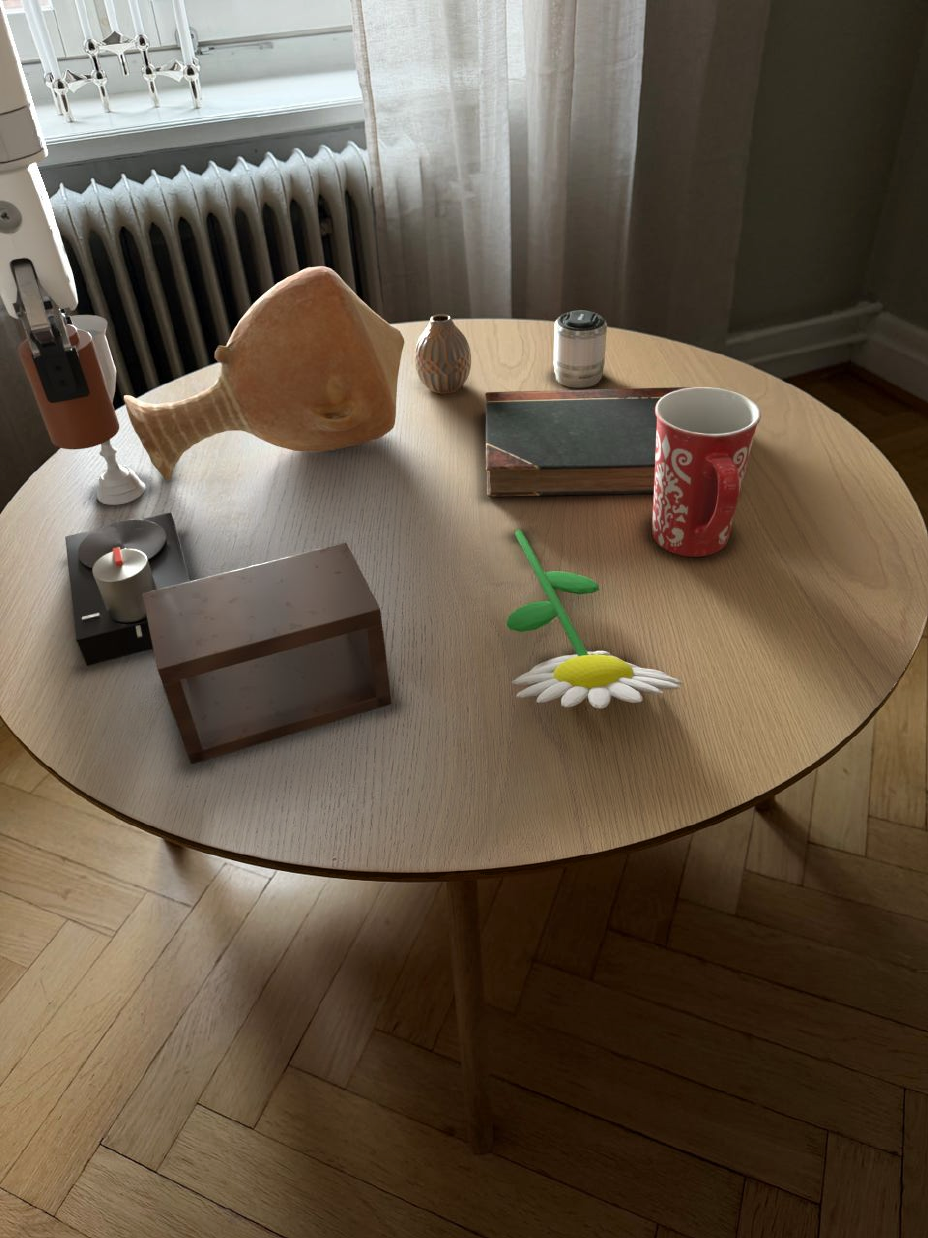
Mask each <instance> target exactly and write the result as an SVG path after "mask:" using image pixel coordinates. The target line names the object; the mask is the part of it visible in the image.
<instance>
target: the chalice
mask: <svg viewBox="0 0 928 1238" xmlns="http://www.w3.org/2000/svg"><path fill="white" fill-rule="evenodd" d="M70 317H71V320H72V323H73V326H74V327H76V329H80V330H84V331H86V332H88V333H89V334H90V335H91V337H92V339H93V343H94V346H95V349H96V352H97V355H98V359H99V362H100V365H101V368H102V371H103V375H104V378H105V381H106V384H107V387H108V391H109V394H110V397H111V400H112V403H114V399H115V392H116V382H117V369H116V365H115V362H114V360H113V355H112V352H111V348H110V346H109V342H108V339H107V335H106V333H107V328H108V323H109V322H108V321H107V320H106V318H104V317H102V316H99V315H93V314H76V315H70ZM117 452H118V448H116V447H114V446H113V445H112V443H111V439H110V440H108V441H106V442H104V443H102V444H100V451H99V453H98V454H99V456H100V457H103V458H104V460H105V462H106V466H107V467H106V469H105V470H104V471H102V472H101V474H100V476H99V478H98V485H97V492H96V499H97V500H98V501H99V502H100V503H102V504H105V505H109V506H110V505H112V506H114V505H116V506H118V505H124V504H127V503H131V502H133V501H135V500H136V499H138V498H140V497H141V496H143V494H144V493H145V491H146V485H145V483H144V482H143V481H142V479H140V477H139V476H138V475H137V474H135V472H134V470H132V469H130V468H128V467H127V466H124V465H120V464H119V463H118V461H117V459H116V457H117V456H116V455H117Z"/></svg>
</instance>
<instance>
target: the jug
mask: <svg viewBox="0 0 928 1238" xmlns="http://www.w3.org/2000/svg"><path fill="white" fill-rule="evenodd" d="M405 343H406V342H405V338H404V336H403V334H402V332H401V330H399V329H398V328H396V326H395V327H394V325H391V324H390V323H389V322H388V321H386V320H385V319H384V318H382V317H381V316H380V315H379V314H377V313H376V312H375V311H374V310H373V309H372V308H371V307H370V306H369V305H368V304H367V303H365V301H363V300H362V299H361V298H360V297H359V296H358V295H357V294H356V292H355V291H353V289H352V288H351V287H350V286H349V285H348V284H347V283H346V282H345V281H344V280H343V279H342V277H341V276H340V275H339V274H338V273H337V272H336V271H335V270H333V268H330V267H327V266H324V265H319V266H312V267H311V266H308V267H306V268H304V269H302V270H300V271H298V272H296V273H294V274H292V275H290V276H287V277H286V278H284V279H282V280H281V281H279V282H277V283H276V284H274V286H272V287H271V288H270V289H268V290H267V291H266V292H264V293H263V294H262V295H261V296H260V297H259V298H258V299H257V300H255V302H253V304H252V305H251V306H250V307H249V308H248V310H247V311H246V312H245V313H244V315H243V316H242V317H241V318H240V320H239V321H238V323H237V325H236V326H235V327H234V329H233V331H232V333H231V334H230V337H229V339H228V342H227V343H226V345H218V346H217V348H216V350H215V351H214V359H215V360H216V361H217V362H218V363H219V364H221V365H220V370H219V371H220V373H219V375H218V377H217V380H216V381H215V382H214V383H213V384H212V385H211V386H210V387H208V388H207V389H205V390H203V391H201V392H200V393H198V394H196V395H193V396H190V397H188V398H185V399H182V400H178V401H174V402H162V403H158V404H157V403H150V402H144V401H142V400H140V399H138V398H136V397H134V396H132V395H128V394H126V395H123V400H124V403H125V408H126V412H127V416H128V418H129V421H130V423H131V426H132V428H133V430H134V432H135V433H136V435H137V437H138V439H139V440H140V442H141V445H142V446H143V448H144V450H145V452H146V453H147V455H148V457H149V460H150V463H151V464H152V465H153V467H154V468H155V469H156V470H157V471H158V472H159V474H160V475H161V476H162V477H163V479H164V480H165V481H171V479H172V478H173V474H174V470H175V469H176V465H177V463H178V462H179V461H180V459H181V457H182V456H183V454H184V453H185V452H187V451H188V450H190V449H191V448H192V447H193V446H194V445H196V444H199V443H200V442H202V441H203V440H205V439H207V438H208V439H209V438H211V437H213V436H215V435H219V434H221V433H225V432H233V431H237V432H238V431H240V432H244V433H245V432H246V433H248V434H250V435H253V436H255V437H256V438H258V440H259V439H260V440H262V441H264V442H266V443H268V444H270V445H273V446H275V447H279V448H283V449H287V450H290V451H294V452H301V453H302V452H309V453H321V452H330V451H335V450H342V449H346V448H349V447H355V446H359V445H362V444H365V443H368V442H372V441H375V440H377V439H380V438H382V437H383V436H385V435H387V434H389V432H391V431H392V430H393V429H394V428H395V425H396V418H397V397H398V380H399V372H400V366H401V360H402V356H403V355H402V354H403V351H404V346H405Z"/></svg>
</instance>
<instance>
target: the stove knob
mask: <svg viewBox="0 0 928 1238" xmlns="http://www.w3.org/2000/svg"><path fill="white" fill-rule="evenodd" d="M92 571H93V575H94V578H95V580H96V583H97V586H98V588H99V591H100V593H101V596H102V599H103V601H104V604H105V607H106V609H107V612H108V615H109V616H110V617H111V618H112V619H113V620H115V621H118V622H123V623H129V622H136V621H140V620H142V619H145V618H147V616H146V611H145V606H144V601H143V596H142V594H143V593H146V592H150V591H154V590H157V588H156V585H155V581H154V578H153V575H152V572H151V569H150V566H149V563H148V560H147V557H146V555H145V554H144V553H142V552H141V551H138V550H134V549H122V550H120V547H117V548H113V552H110V553H108V554H106V555H104V556H102V557H101V558H100V559H98V560H97V561H96V563H95V564H94V566H93V570H92Z"/></svg>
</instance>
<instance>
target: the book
mask: <svg viewBox="0 0 928 1238" xmlns="http://www.w3.org/2000/svg"><path fill="white" fill-rule="evenodd" d="M695 387H696V386H676V387H675V386H674V387H671V386H670V387H638V388H635V387H633V388H603V389H602V388H601V389H600V388H599V389H598V388H597V389H559V390H556V389H555V390H522V391H521V390H517V391H513V390H512V391H510V390H509V391H486V392H485V394H484V395H485V471H486V494H487V497H490V498H493V497H495V498H497V497H535V496H536V497H539V496H540V497H541V496H592V495H593V496H594V495H595V496H598V495H599V496H602V495H603V496H604V495H605V496H606V495H609V496H610V495H643V494H644V495H647V494H649V495H652V494H653V495H654V478H655V456H656V433H657V416H656V413H655V407H656V404H657V403H658V401H659V400H660V399H661V398H662V397H663V396H665V395H667V394H669V393H671V392H674V391H677V390H681V389H686V388H695Z"/></svg>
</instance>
